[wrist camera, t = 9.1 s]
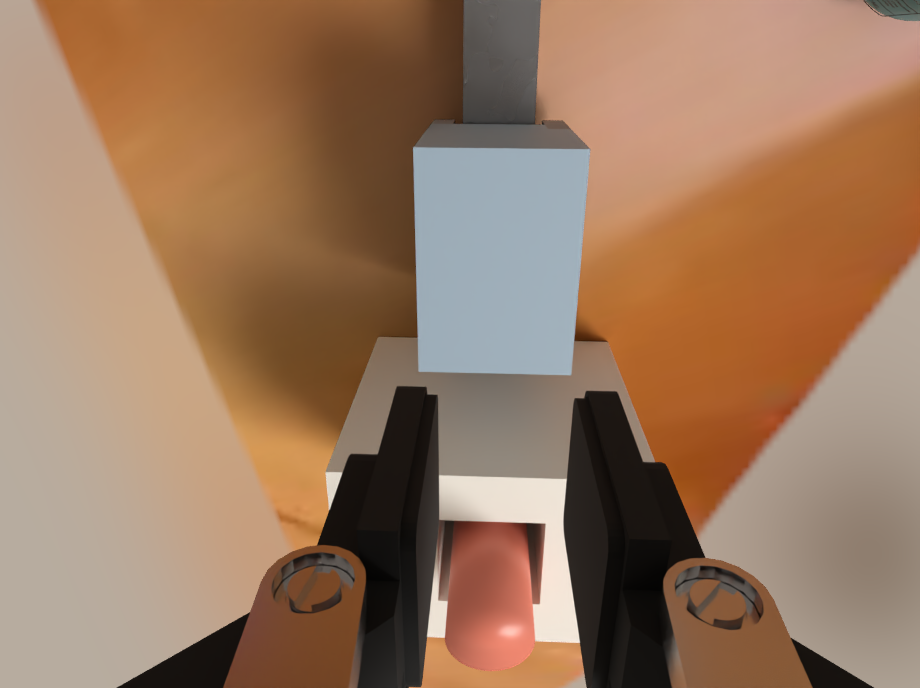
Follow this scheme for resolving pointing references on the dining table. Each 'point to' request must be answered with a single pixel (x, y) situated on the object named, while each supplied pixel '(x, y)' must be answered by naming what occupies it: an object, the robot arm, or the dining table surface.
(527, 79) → the rail
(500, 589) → the button
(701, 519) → the dining table surface
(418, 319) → the carriage
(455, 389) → the cabinet
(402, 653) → the robot arm
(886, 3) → the beverage bottle
